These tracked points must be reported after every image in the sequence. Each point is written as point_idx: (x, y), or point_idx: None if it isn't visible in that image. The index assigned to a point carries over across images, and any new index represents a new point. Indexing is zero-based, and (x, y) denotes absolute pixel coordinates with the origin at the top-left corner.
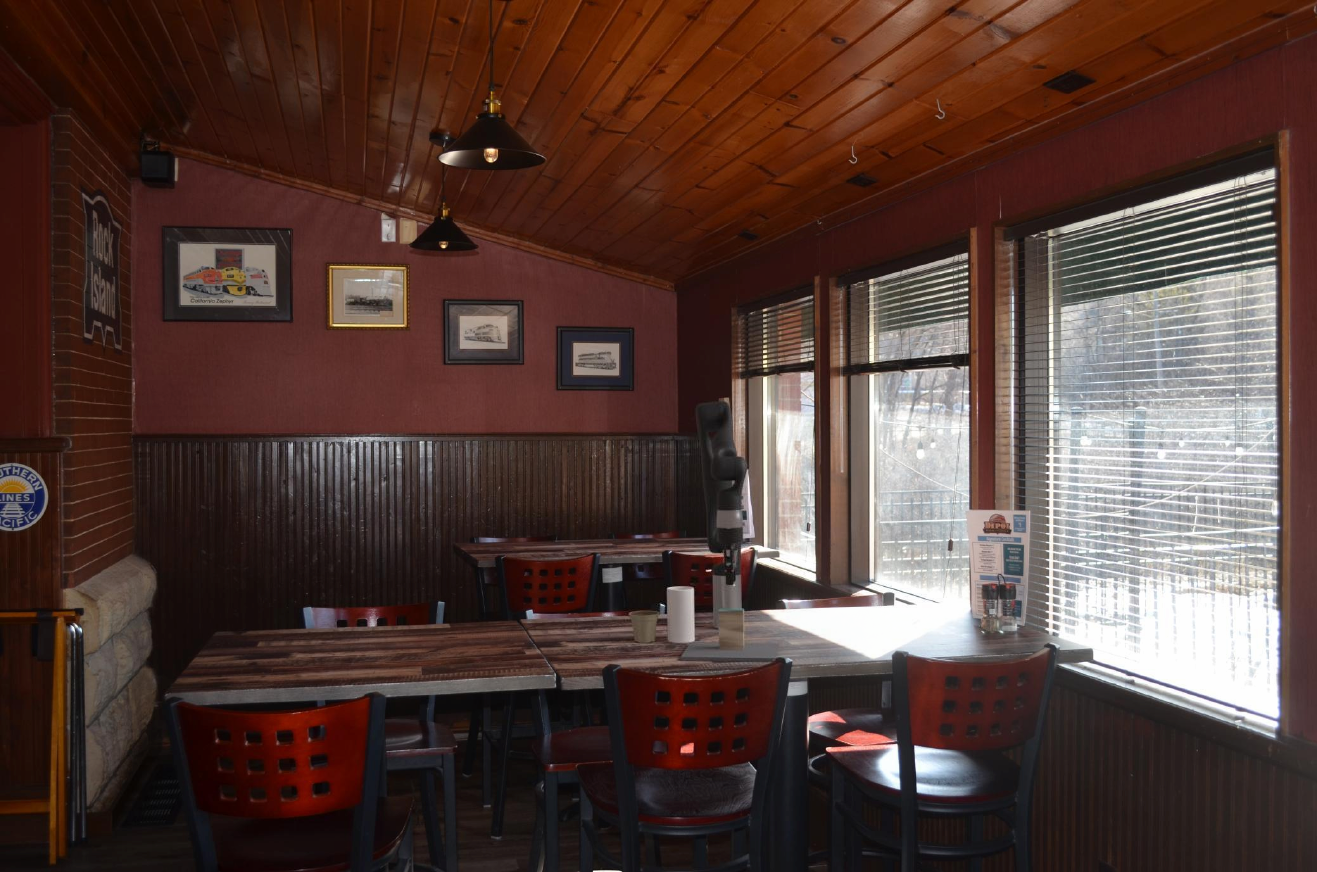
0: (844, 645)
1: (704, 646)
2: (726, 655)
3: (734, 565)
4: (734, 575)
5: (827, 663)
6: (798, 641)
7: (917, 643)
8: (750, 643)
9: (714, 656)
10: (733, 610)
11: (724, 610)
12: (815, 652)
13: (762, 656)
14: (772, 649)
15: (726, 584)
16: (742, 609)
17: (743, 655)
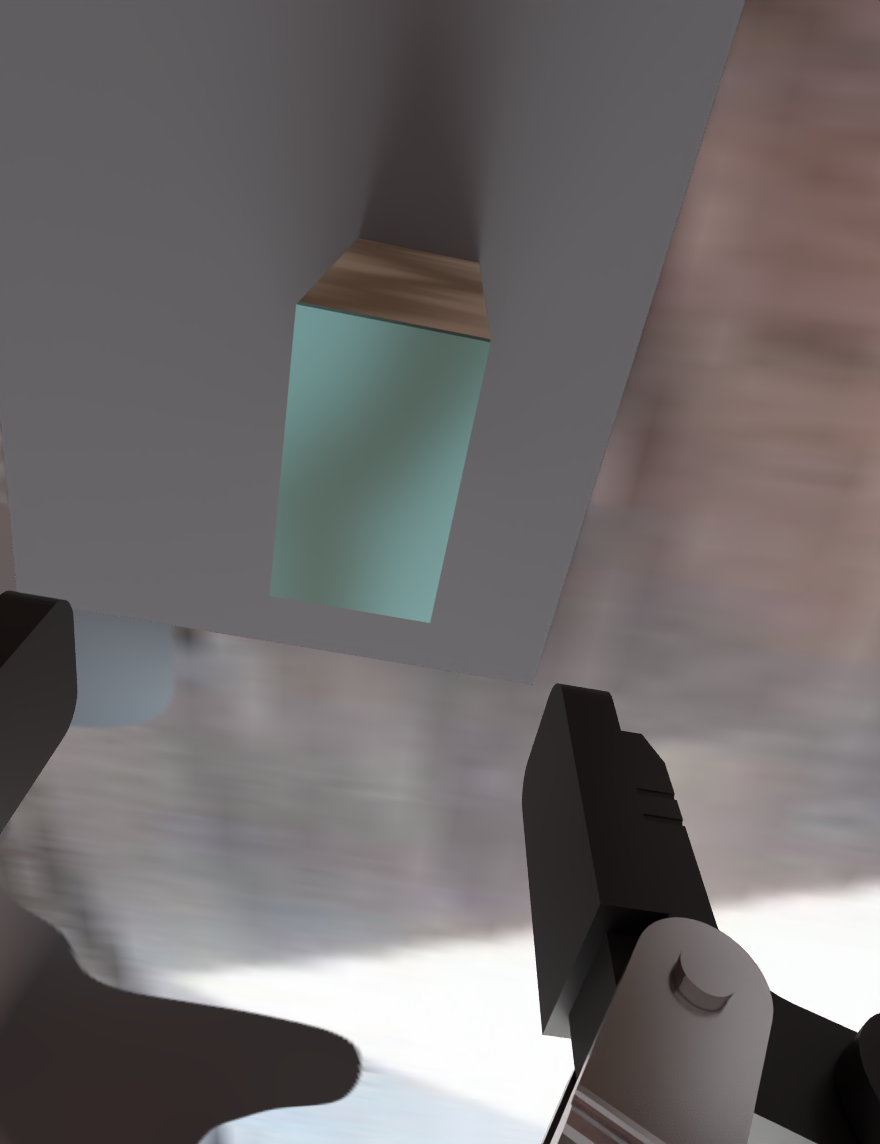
0: (508, 944)
1: (494, 95)
2: (73, 276)
3: (551, 1131)
4: (537, 872)
5: (34, 816)
6: (680, 788)
7: (503, 1139)
8: (563, 515)
9: (13, 160)
10: (297, 498)
11: (304, 387)
12: (331, 813)
13: (66, 535)
14: (318, 624)
15: (10, 597)
16: (369, 601)
17: (86, 412)
